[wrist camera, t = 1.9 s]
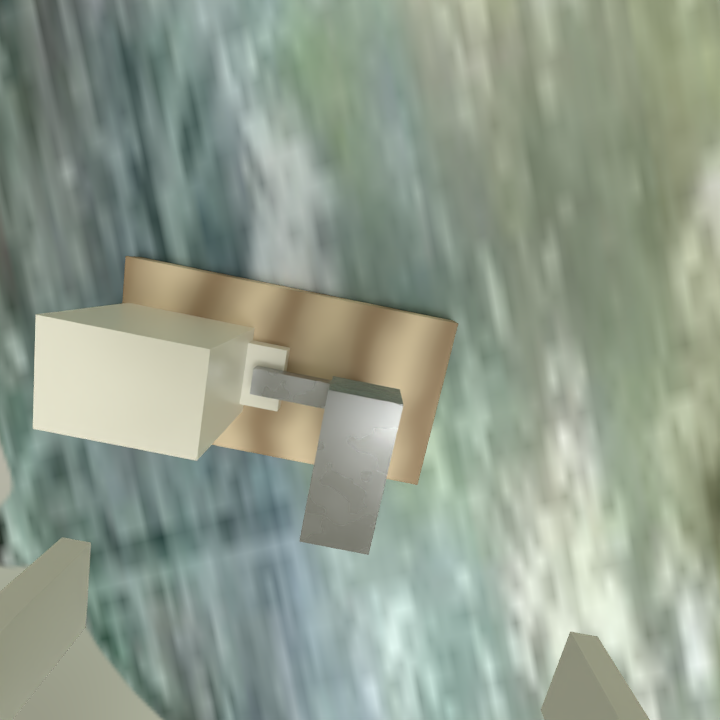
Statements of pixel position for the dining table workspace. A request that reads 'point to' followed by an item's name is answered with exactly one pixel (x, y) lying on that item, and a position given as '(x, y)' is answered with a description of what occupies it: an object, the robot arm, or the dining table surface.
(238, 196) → the dining table surface
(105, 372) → the cream rectangular block
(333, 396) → the t key
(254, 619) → the dining table surface
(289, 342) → the base plate
